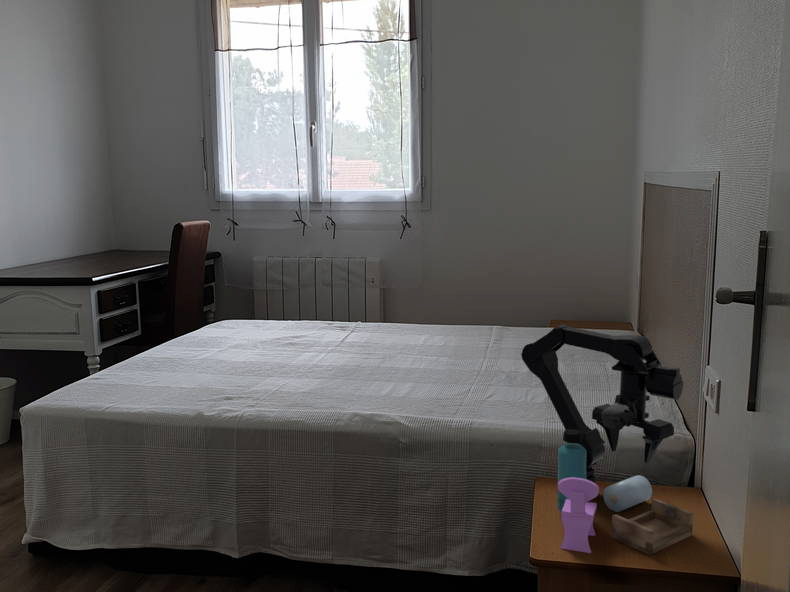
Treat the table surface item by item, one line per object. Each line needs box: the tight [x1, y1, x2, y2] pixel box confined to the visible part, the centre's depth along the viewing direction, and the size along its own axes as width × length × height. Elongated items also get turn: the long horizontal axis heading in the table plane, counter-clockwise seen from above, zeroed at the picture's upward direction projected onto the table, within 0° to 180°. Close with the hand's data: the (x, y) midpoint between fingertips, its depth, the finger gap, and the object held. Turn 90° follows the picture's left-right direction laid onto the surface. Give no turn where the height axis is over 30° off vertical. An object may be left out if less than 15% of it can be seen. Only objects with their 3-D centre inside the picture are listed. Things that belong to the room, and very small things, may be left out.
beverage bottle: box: [557, 429, 587, 514], centre depth 169 cm, size 6×7×20 cm
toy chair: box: [557, 477, 600, 554], centre depth 158 cm, size 8×9×15 cm
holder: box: [611, 498, 694, 556], centre depth 160 cm, size 10×14×5 cm, turn 126°
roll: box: [602, 475, 653, 513], centre depth 176 cm, size 10×6×6 cm, turn 126°
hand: (629, 456), depth 174 cm, fingers open, 9 cm apart
